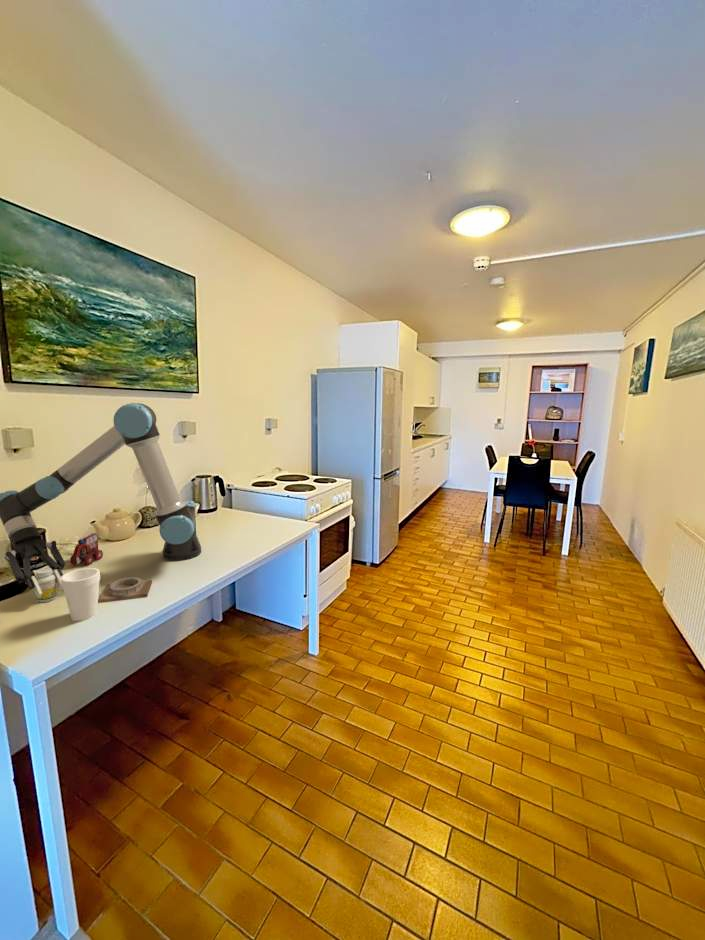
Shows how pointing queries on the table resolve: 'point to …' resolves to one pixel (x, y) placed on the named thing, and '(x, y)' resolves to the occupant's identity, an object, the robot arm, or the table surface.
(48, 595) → the supplement bottle
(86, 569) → the foam cup
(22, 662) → the table surface
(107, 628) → the table surface
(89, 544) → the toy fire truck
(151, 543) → the table surface
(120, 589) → the socket board
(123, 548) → the table surface
